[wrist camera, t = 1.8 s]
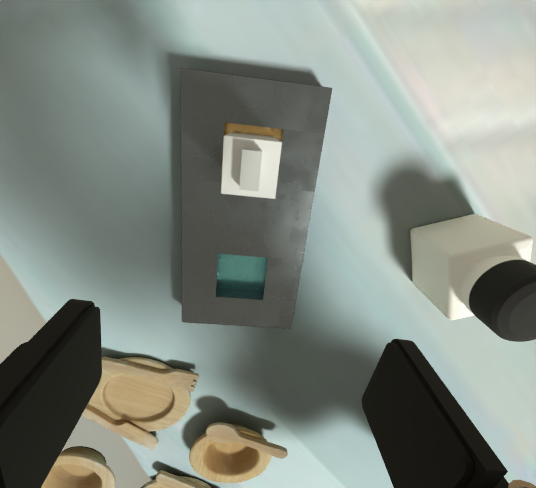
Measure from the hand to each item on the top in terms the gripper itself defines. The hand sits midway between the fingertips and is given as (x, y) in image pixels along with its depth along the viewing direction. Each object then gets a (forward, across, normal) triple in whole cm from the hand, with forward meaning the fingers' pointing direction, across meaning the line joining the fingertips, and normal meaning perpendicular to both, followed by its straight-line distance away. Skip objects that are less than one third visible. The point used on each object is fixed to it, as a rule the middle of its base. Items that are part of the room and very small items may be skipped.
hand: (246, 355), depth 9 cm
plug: (+21, 0, -4) cm, 21 cm away
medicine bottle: (+21, -22, +2) cm, 31 cm away
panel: (+21, 0, +2) cm, 21 cm away
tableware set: (+21, +6, +41) cm, 46 cm away
